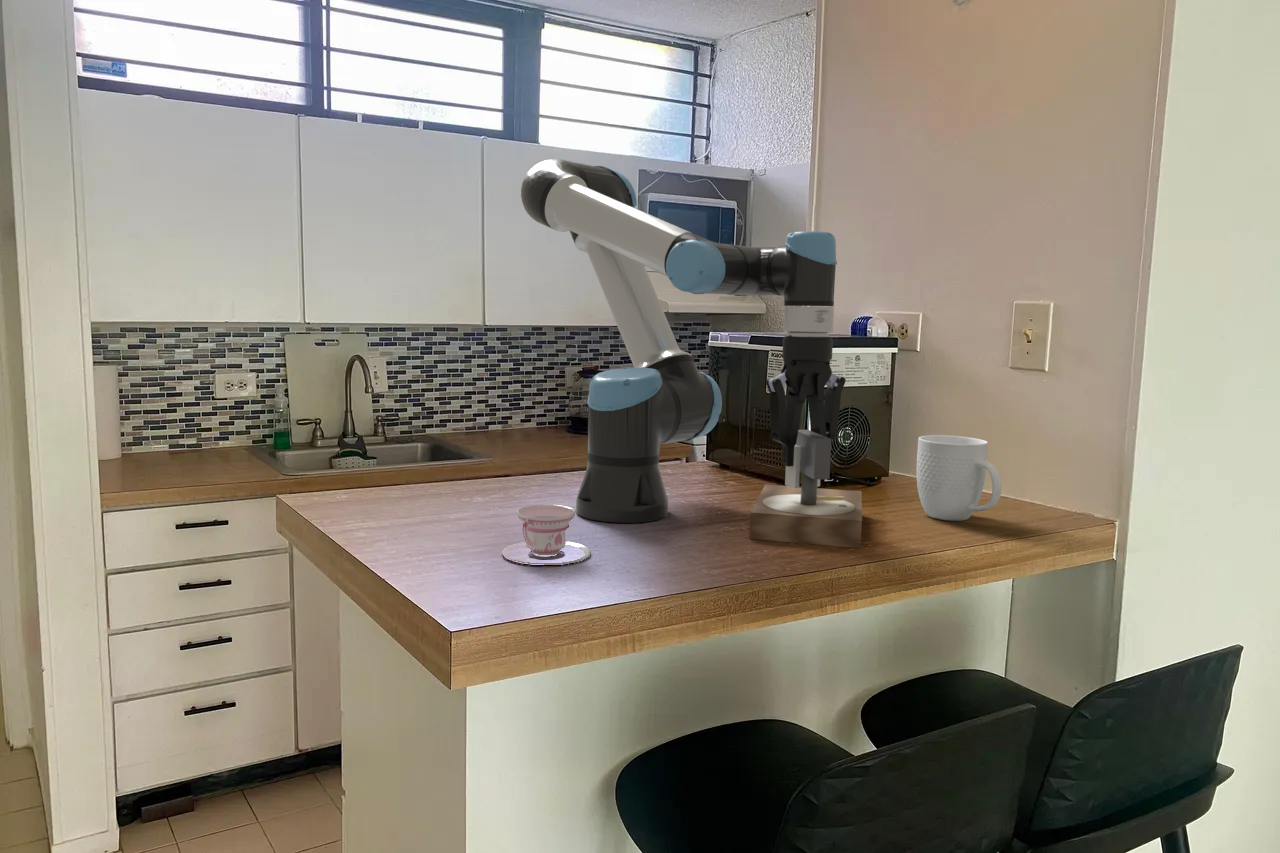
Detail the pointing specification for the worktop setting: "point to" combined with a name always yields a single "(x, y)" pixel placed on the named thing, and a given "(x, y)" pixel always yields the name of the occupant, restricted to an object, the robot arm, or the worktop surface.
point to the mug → (954, 476)
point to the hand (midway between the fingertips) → (802, 485)
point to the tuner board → (807, 517)
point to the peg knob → (814, 465)
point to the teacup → (547, 530)
